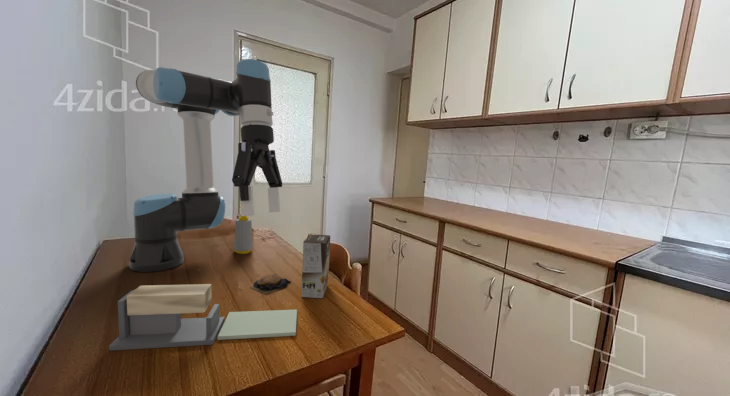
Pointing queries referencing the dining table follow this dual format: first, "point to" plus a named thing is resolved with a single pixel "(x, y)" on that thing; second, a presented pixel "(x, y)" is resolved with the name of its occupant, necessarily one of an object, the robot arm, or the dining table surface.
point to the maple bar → (169, 299)
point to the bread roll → (270, 283)
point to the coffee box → (315, 266)
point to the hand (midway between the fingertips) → (262, 213)
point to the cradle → (164, 329)
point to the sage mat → (259, 324)
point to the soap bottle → (243, 235)
